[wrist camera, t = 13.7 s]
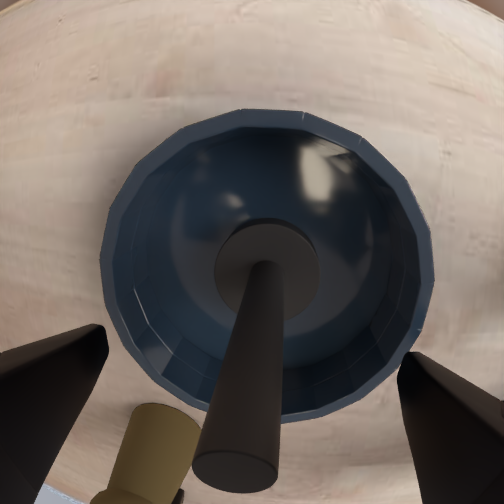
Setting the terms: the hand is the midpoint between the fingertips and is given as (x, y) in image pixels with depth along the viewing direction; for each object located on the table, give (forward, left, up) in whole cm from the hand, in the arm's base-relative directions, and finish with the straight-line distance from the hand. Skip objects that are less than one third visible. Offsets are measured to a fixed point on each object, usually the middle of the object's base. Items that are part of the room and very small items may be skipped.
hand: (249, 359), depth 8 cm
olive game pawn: (+7, +15, -9) cm, 18 cm away
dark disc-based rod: (0, 0, -8) cm, 8 cm away
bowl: (0, 0, -9) cm, 9 cm away
